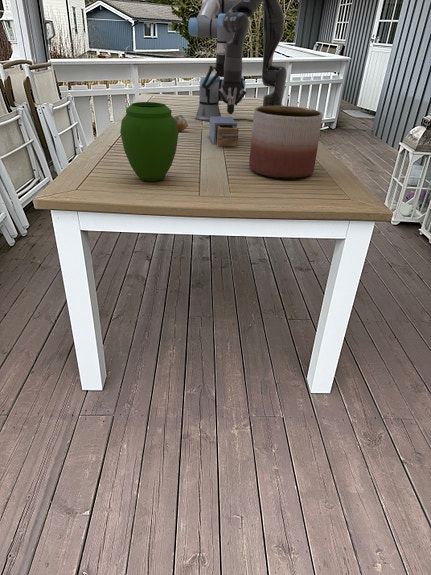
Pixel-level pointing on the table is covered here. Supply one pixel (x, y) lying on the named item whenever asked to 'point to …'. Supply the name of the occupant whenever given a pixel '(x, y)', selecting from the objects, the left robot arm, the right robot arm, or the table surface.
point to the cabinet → (219, 121)
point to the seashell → (181, 122)
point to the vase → (149, 139)
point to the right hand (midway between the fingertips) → (230, 113)
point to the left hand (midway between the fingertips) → (222, 104)
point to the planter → (284, 141)
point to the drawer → (227, 135)
